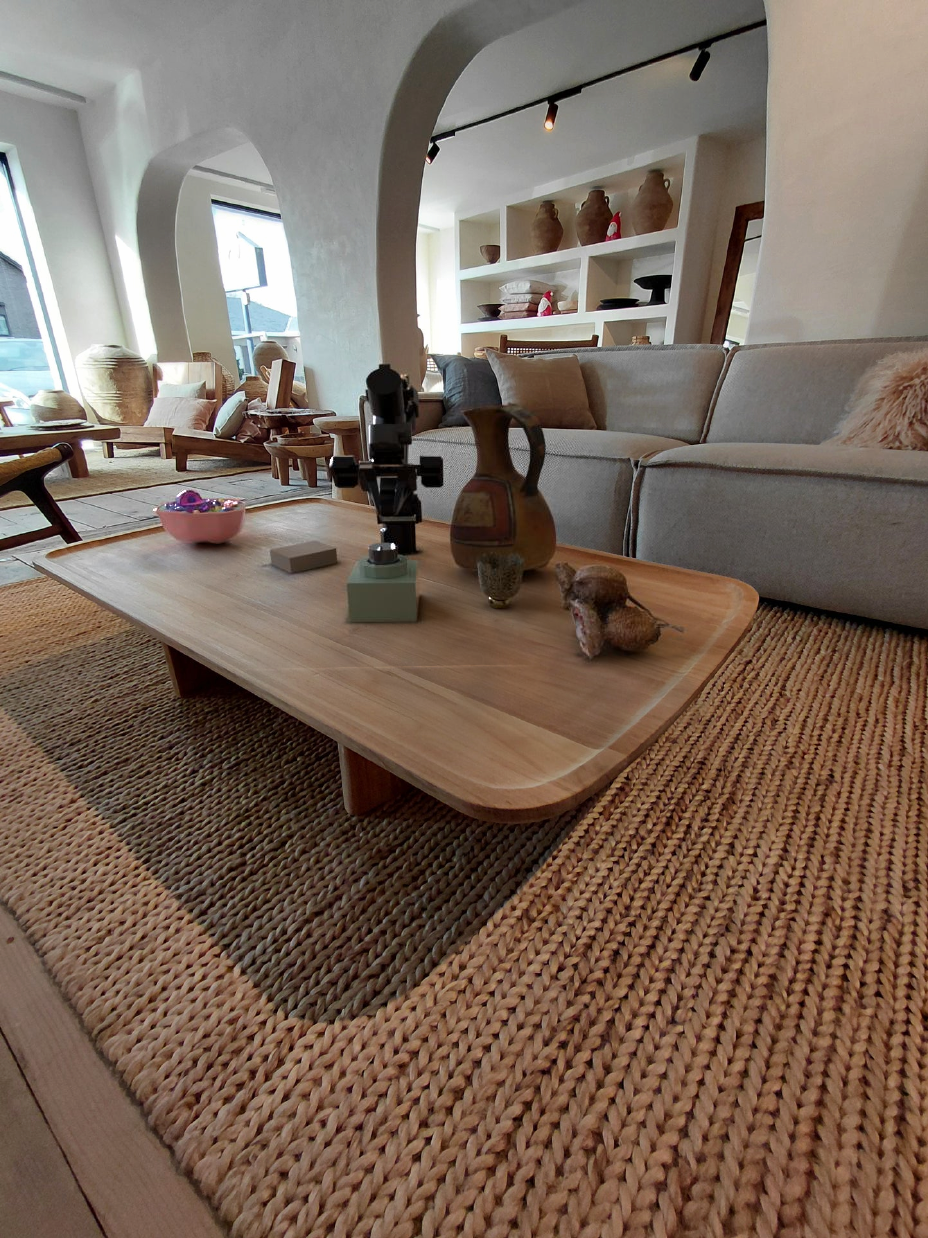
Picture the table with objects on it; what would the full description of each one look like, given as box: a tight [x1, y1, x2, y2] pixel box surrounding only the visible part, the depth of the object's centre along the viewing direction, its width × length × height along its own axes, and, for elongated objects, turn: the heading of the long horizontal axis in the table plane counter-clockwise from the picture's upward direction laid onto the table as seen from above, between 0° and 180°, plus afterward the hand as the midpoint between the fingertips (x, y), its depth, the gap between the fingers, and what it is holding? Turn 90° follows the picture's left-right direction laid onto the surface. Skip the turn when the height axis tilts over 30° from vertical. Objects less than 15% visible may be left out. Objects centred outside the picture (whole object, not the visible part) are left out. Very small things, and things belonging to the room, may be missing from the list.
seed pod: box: [554, 562, 685, 661], centre depth 78 cm, size 13×16×15 cm
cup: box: [477, 551, 525, 610], centre depth 91 cm, size 8×7×8 cm
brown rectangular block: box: [269, 540, 338, 574], centre depth 113 cm, size 10×8×3 cm
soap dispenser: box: [346, 554, 420, 623], centre depth 90 cm, size 11×10×8 cm
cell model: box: [153, 489, 247, 545], centre depth 125 cm, size 17×20×11 cm
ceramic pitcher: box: [449, 402, 557, 572], centre depth 104 cm, size 20×20×30 cm
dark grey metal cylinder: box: [367, 542, 398, 565], centre depth 88 cm, size 4×4×3 cm
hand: (386, 514), depth 94 cm, fingers closed
